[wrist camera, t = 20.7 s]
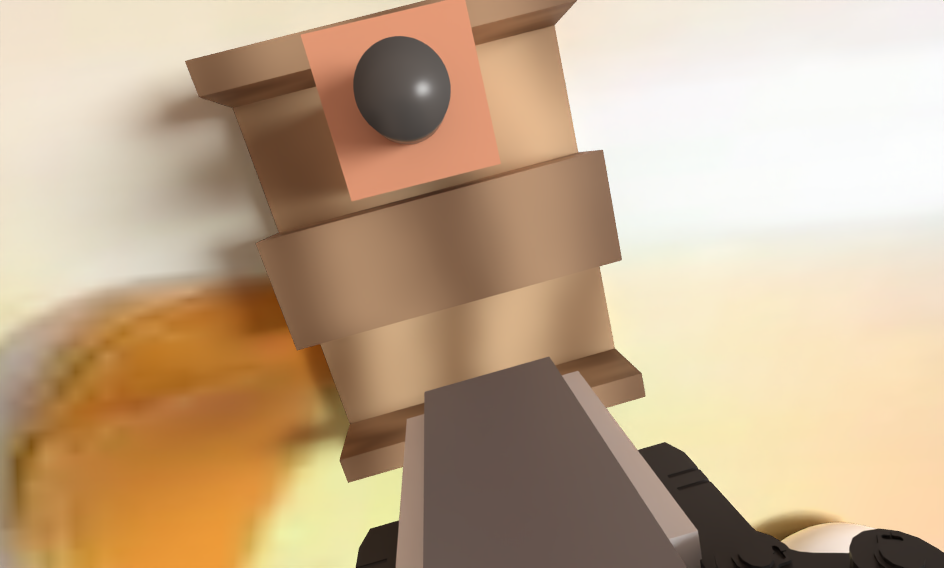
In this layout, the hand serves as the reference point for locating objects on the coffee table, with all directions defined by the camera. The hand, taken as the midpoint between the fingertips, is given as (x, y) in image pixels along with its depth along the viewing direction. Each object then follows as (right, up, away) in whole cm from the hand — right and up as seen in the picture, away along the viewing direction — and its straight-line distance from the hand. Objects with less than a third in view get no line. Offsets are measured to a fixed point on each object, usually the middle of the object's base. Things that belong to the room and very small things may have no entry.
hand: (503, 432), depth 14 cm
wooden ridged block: (-2, +7, +8) cm, 11 cm away
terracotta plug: (-4, +11, +6) cm, 13 cm away
